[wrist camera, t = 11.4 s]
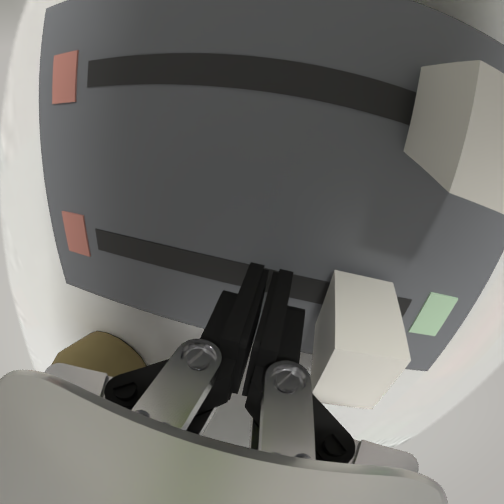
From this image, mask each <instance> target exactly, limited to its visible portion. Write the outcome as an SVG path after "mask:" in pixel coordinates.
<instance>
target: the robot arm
mask: <svg viewBox="0 0 504 504" xmlns="http://www.w3.org/2000/svg"><path fill="white" fill-rule="evenodd" d="M264 266H265V265H261V264H257V263H253V262H251V263H250V265H249V267H248V270H247V272H246V275H245V277H244V280H243V282H242V285H241V288H240V290H239V293H238V294H237V293H233V292H229V291H225V290H223V291H222V293H221V295H220V297H219V299H218V301H217V304H216V306H215V308H214V310H213V312H212V314H211V316H210V319H209V321H208V323H207V325H206V327H205V329H204V332H203V334H202V336H201V338H200V339H192V340H188V341H186V342H184V343H182V344H181V345H180V346H179V347H178V349H177V350H176V351H175V353H174V354H173V355H172V357H171V358H170V359H168V360H165V361H162V362H158V363H155V364H152V365H149V366H146V367H142V368H139V369H136V370H133V371H129V372H126V373H122V374H119V375H117V376H115V377H111V376H108V375H107V373H103V372H98V371H94V370H89V369H85V368H81V367H76V366H72V365H68V364H64V363H55V364H52V365H51V366H49V367H48V368H47V369H46V371H45V372H39V371H33V370H16V371H12V372H9V373H8V374H6V375H5V376H4V377H2V378H1V379H0V504H448V501H447V497H446V494H445V492H444V490H443V488H442V487H441V486H440V485H439V484H438V483H437V482H435V481H434V480H432V479H431V478H429V477H427V476H425V475H422V474H420V473H418V462H417V459H416V458H415V457H414V456H413V455H412V454H410V453H407V452H404V451H400V450H397V449H393V448H389V447H386V446H382V445H379V444H375V443H372V442H369V441H365V440H361V441H357V440H354V439H353V438H352V436H351V435H350V434H349V433H348V432H347V431H346V430H345V428H344V427H343V426H342V425H341V424H340V423H339V422H338V421H337V420H336V419H335V418H334V417H333V415H332V414H331V413H330V412H329V411H328V410H327V409H326V408H325V407H324V406H323V404H322V403H321V402H320V401H319V400H318V399H317V398H316V397H315V396H314V395H313V393H312V385H311V378H310V374H309V373H308V371H307V370H306V369H305V368H304V367H303V366H302V365H300V364H299V359H300V351H301V344H302V336H303V328H304V319H305V309H302V308H297V307H293V306H288V300H289V295H290V289H291V284H292V278H293V272H292V271H288V270H283V269H280V270H279V272H275V271H273V275H272V278H271V282H270V286H269V289H268V293H267V297H266V300H265V304H264V307H263V311H262V315H261V318H260V322H259V317H260V312H261V308H262V303H263V298H264V293H265V289H266V284H267V279H268V274H269V270H266V269H264ZM258 322H259V325H258ZM257 326H258V329H257ZM256 329H257V332H256ZM255 333H256V336H255ZM254 336H255V339H254ZM253 340H254V343H253ZM252 343H253V347H252ZM251 347H252V351H251V356H250V361H249V365H248V370H247V374H246V379H245V383H244V388H243V392H242V395H243V396H247V400H246V404H245V408H246V409H247V411H248V412H249V413H250V415H251V416H252V419H251V429H250V442H249V448H246V447H242V446H238V445H234V444H230V443H226V442H222V441H219V440H215V439H212V438H208V437H205V436H202V434H203V432H204V431H205V429H206V427H207V425H208V424H209V422H210V420H211V418H212V416H213V415H214V413H215V411H216V408H217V406H220V405H222V404H225V403H227V401H228V400H230V397H231V394H232V393H236V394H238V391H239V387H240V384H241V381H242V377H243V374H244V371H245V367H246V364H247V360H248V357H249V353H250V350H251Z"/></svg>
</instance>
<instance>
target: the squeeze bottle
mask: <svg viewBox="0 0 504 504" xmlns="http://www.w3.org/2000/svg"><path fill="white" fill-rule="evenodd" d="M55 363H64V364H68V365H72V366H76V367H81V368H85V369H89V370H94V371H98V372H103V373H107V375H108V376H111V377H115V376H117V375H119V374H122V373H126V372H129V371H133V370H136V369H139V368H142V367H146V365H145V363H144V362H143V360H142V358H141V357H140V356H139V355H138V354H137V353H136V352H135V351H134V350H133V349H132V348H131V347H130V346H129V345H127V344H126V343H124V342H123V341H122V340H120V339H119V338H117V337H114V336H112V335H110V334H108V333H104V332H99V331H96V332H93V333H90V334H89V335H87V336H85V337H84V338H82V339H80V340H79V341H77V342H75V343H74V344H72V345H70V346H69V347H67V348H65V349H64V350H62V351H61V352H59V353H58V354H57V356H56V358H55V360H54V361H53V363H52V364H55Z"/></svg>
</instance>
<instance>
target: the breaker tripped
mask: <svg viewBox="0 0 504 504" xmlns="http://www.w3.org/2000/svg"><path fill="white" fill-rule="evenodd" d="M410 361H411V358H410V353H409V348H408V343H407V338H406V333H405V329H404V324H403V320H402V316H401V311H400V307H399V303H398V299H397V295H396V292H395V288H394V284H393V282H388V281H384V280H379V279H375V278H370V277H365V276H361V275H356V274H352V273H347V272H343V271H338V270H334V273H333V276H332V279H331V282H330V285H329V288H328V291H327V293H326V296H325V299H324V302H323V305H322V308H321V310H320V313H319V316H318V318H317V321H316V324H315V335H314V346H313V357H312V367H311V377H310V378H311V385H312V393H313V395H314V396H315V397H316V398H317V399H318V400H319V401H320V402H321V403H325V404H332V405H339V406H347V407H355V408H363V409H373V408H374V407H375V405H376V404H377V403H378V402H379V401H380V399H381V398H382V397H383V396H384V395H385V393H386V392H387V391H388V390H389V389H390V387H391V386H392V385H393V384H394V382H395V381H396V380H397V379H398V377H399V376H400V375H401V373H402V372H403V371H404V369H405V368H406V367H407V365H408V364H409V363H410Z"/></svg>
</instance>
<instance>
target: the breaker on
mask: <svg viewBox="0 0 504 504" xmlns="http://www.w3.org/2000/svg"><path fill="white" fill-rule="evenodd" d="M403 152H405V153H406V154H407V155H408V156H409V157H411V158H412V159H413V160H414V161H415V162H416V163H417V164H419V165H420V166H421V167H422V168H423V169H424V170H425V171H426V172H428V173H429V174H430V175H431V176H432V177H433V178H434V179H435V180H436V181H437V182H438V183H439V184H440V185H441V186H443V187H444V188H445V189H446V190H447V191H448V192H449V193H451V194H453V195H456V196H459V197H462V198H464V199H467V200H470V201H472V202H475V203H477V204H480V205H482V206H485V207H487V208H490V209H492V210H495V211H497V212H499V213H502V214H504V73H502V72H500V71H499V70H497V69H495V68H494V67H492V66H490V65H488V64H487V63H485V62H483V61H481V60H474V61H462V62H453V63H444V64H437V65H429V66H423V67H421V71H420V77H419V83H418V88H417V94H416V99H415V104H414V108H413V113H412V118H411V122H410V126H409V131H408V135H407V139H406V143H405V147H404V151H403Z"/></svg>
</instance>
